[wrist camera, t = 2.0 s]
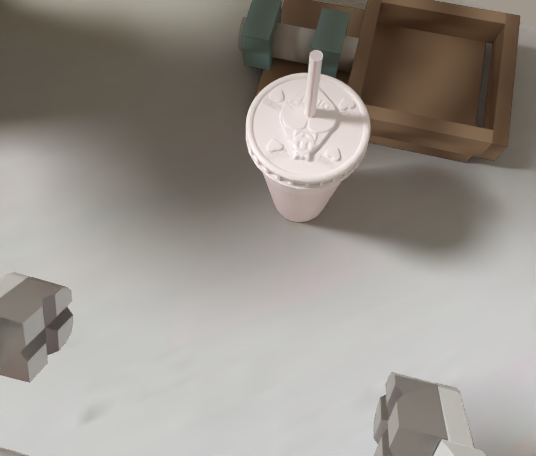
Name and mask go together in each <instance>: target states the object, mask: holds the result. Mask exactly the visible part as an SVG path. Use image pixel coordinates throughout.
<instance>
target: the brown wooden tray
mask: <svg viewBox="0 0 536 456" xmlns="http://www.w3.org/2000/svg"><path fill="white" fill-rule="evenodd" d="M519 24H520V16H519V15H513V14H508V13H502V12H496V11H491V10H485V9H479V8H473V7H468V6H462V5H456V4H450V3H445V2H439V1H433V0H368V2H367V6H366V10H361V9H355V8H350V7H344V6H339V5H333V4H328V3H322V2H317V1H311V0H285V1H284V4H283V7H282V10H281V0H252V3H251V6H250V9H249V12H248V15H247V17H244V18H243V20H242V23H241V26H240V31H239V50H240V51H243V58H244V65H245V66H250V67H255V68H260V69H263V72H262V75H261V78H260V82H259V85H258V88H257V91H256V94H255V97H256V96H257V95H258V94H259V92H260V91H261V90H262V89H264V88H265V87H266V86H267V85H269V84H270V83H272V82H273V81H275V80H277V79H279V78H282V77H284V76H287V75H291V74H297V73H308V66H309V56H310V53H311V52H312V51H313V50H319V51H321V52H322V54H323V59H322V67H321V74H323V75H327V76H330V77H333V78H335V79H338V80H340V81H341V82H343V83H345V84H346V85H348V86H349V87H350V88H351V89H353V90H354V91H355V92H356V93H357V94H358V96H359V97H360V98H361V100H362V101H363V103H364V105H365V106H366V109H367V111H368V114H369V118H370V126H371V129H370V138H369V142H370V143H375V144H379V145H384V146H389V147H394V148H399V149H403V150H408V151H413V152H418V153H422V154H427V155H432V156H437V157H441V158H446V159H451V160H456V161H461V162H465V163H466V162H467V161H468V160H469V159H470V158H471V156H474V157H479V158H483V159H488V160H493V161H494V160H495V159H496V158H497V157H498V156H499V155H500V154H501V153H502V152H503V151H504V150H505V149H506V148H507V147H508V138H509V127H510V117H511V107H512V97H513V86H514V76H515V66H516V55H517V45H518V35H519ZM486 43H492V52H491V61H490V69H489V78H488V86H487V95H486V103H485V111H484V120H483V128H480V127H475V126H476V118H477V110H478V102H479V94H480V86H481V78H482V70H483V62H484V54H485V46H486ZM254 99H255V98H254Z"/></svg>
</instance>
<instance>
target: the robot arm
mask: <svg viewBox="0 0 536 456" xmlns="http://www.w3.org/2000/svg"><path fill="white" fill-rule="evenodd" d="M71 302H72V294H71V290H70V289H69V288H68V287H65V286H62V285H58V284H55V283H51V282H48V281H44V280H41V279H37V278H34V277H29V276H26V275H22V274H19V273H15V272H14V273H8V274H7V275H5V276H4V277H2V278H1V279H0V375H2V376H6V377H10V378H14V379H18V380H22V381H26V382H31V381H32V380H33V379H34V377H35V376H36V375H37V374H38V373H39V372H40V371H41V370H42V369H43V368H44V367H45V365H46V364H47V363H48V355H49V354H52V353H54V352H57V351H59V350H60V349H61V348H62V347H63V345H64V344H65V343H66V342H67V340H68V338H69V336H70V334H71V331H72V326H73V314H72V313H71V312H70V310H69V309H68V307H67V306H68V305H69V304H70V303H71ZM374 439H375V441H376V442H377V444H378V447H377V449H376V452H375V454H374V456H486V455H485V454H484V452H483V451H482V450H480V449H476V448H474V444H473V440H472V436H471V433H470V429H469V425H468V421H467V417H466V413H465V410H464V406H463V402H462V398H461V394H460V391H459V390H458V389H457V388H455V387H451V386H447V385H442V384H438V383H433V382H429V381H425V380H421V379H417V378H413V377H409V376H405V375H401V374H397V373H393V372H392V373H391V374H390V375H389V377H388V380H387V382H386V395H384V396H382V397H380V400H379V403H378V406H377V409H376V414H375V419H374ZM0 456H28V455H25V454H22V453H19V452H15V451H12V450H9V449H6V448H2V447H0Z"/></svg>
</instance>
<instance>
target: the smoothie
mask: <svg viewBox="0 0 536 456" xmlns="http://www.w3.org/2000/svg"><path fill="white" fill-rule="evenodd" d="M322 59H323V54H322V52H321V51H319V50H313V51H312V52H311V53H310V56H309V66H308V73H297V74H291V75H287V76H284V77H282V78H279V79H277V80H275V81H273V82H272V83H270V84H269V85H267V86H266V87H265V88H264V89H262V90H261V91H260V92H259V94H258V95H257V96H256V97H255V99H254V100H253V102H252V104H251V106H250V108H249V110H248V114H247V118H246V143H247V147H248V151H249V154H250V156H251V158H252V159H253V161H254V163H255V164H256V166H257V167H258V168H259V169H260V170H261V171H262V172H263V175H264V177H265V180H266V183H267V186H268V188H269V191H270V194H271V196H272V199H273V202H274V204H275V207H276V209H277V211H278V212H279V213H280V214H281V215H282V216H283V217H284V218H286V219H288V220H290V221H294V222H306V221H310V220H312V219H314V218H315V217H317V216H318V215H319V214H320V213H321V211H322V210H323V209H324V207H325V205H326V204H327V202H328V201H329V199H330V198H331V196H332V195H333V193H334V192H335V190H336V189H337V187H338V186H339V184H340V183H341V181H342V180H344V179H346V178H347V177H348V176H349V175H350V174H351V173H352V172H354V171H355V170H356V169H357V168H358V166H359V164H360V163H361V161H362V160H363V158H364V156H365V154H366V150H367V146H368V142H369V138H370V129H371V126H370V118H369V114H368V111H367V109H366V106H365V105H364V103H363V101H362V100H361V98H360V97H359V96H358V94H357V93H356V92H355V91H354V90H353V89H351V88H350V87H349V86H348V85H346V84H345V83H343V82H341V81H340V80H338V79H335V78H333V77H330V76H327V75H323V74H321V67H322Z"/></svg>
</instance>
